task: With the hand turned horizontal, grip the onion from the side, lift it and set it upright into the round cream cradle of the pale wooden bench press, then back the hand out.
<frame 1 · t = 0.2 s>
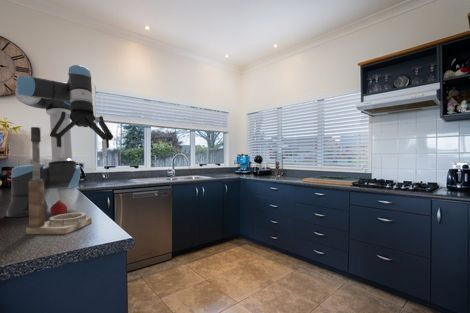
hand: (85, 156, 89), 27 cm above the counter, tool tilted 15°, fingers open, 13 cm apart
press: (61, 227, 90), on the counter
onion: (59, 218, 104), on the counter
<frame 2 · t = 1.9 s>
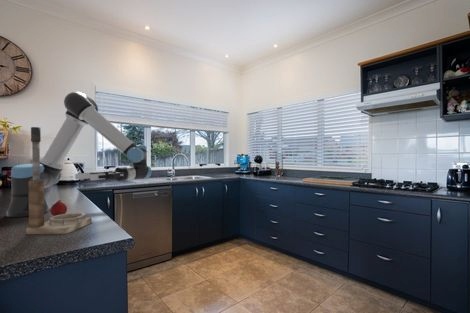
hand: (82, 177, 112), 17 cm above the counter, tool horizontal, fingers open, 13 cm apart
nothing on the counter moved.
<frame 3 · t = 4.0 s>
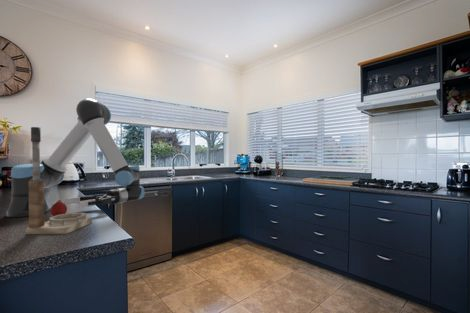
hand: (71, 203, 108), 6 cm above the counter, tool horizontal, fingers open, 13 cm apart
nothing on the counter moved.
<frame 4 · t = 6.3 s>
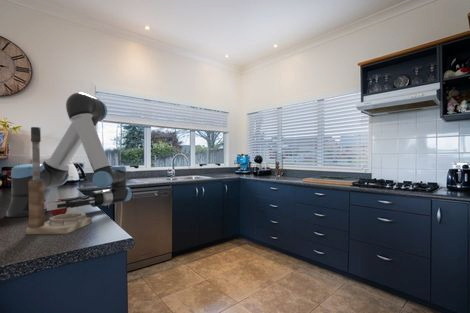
hand: (44, 206, 100), 6 cm above the counter, tool horizontal, fingers closed on onion, 5 cm apart
onion: (58, 218, 104), on the counter, touching gripper
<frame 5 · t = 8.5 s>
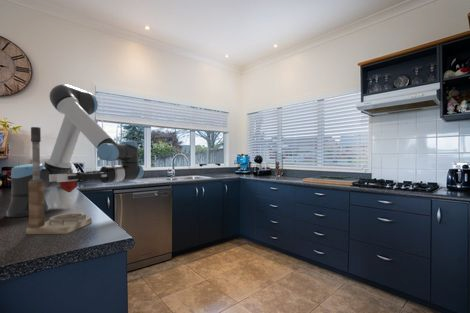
hand: (53, 178, 91), 18 cm above the counter, tool horizontal, fingers closed on onion, 5 cm apart
onion: (69, 192, 96), point 12 cm above the counter, touching gripper
when the fingers open (9 cm above the counter, at t = 10.8 s): onion drops 1 cm, resting on press.
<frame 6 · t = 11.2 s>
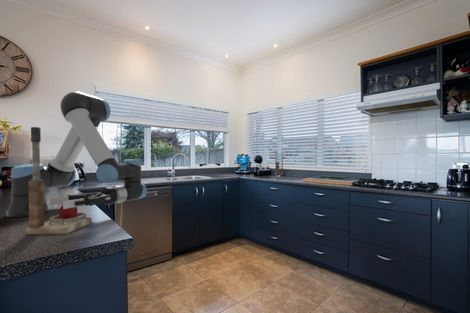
hand: (55, 203, 88), 9 cm above the counter, tool horizontal, fingers open, 11 cm apart
onion: (68, 221, 91), point 2 cm above the counter, touching press
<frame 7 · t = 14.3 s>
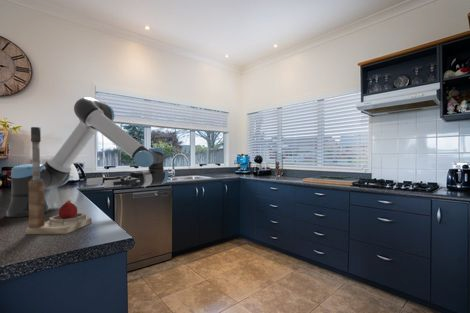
hand: (95, 183, 99), 16 cm above the counter, tool horizontal, fingers open, 13 cm apart
nothing on the counter moved.
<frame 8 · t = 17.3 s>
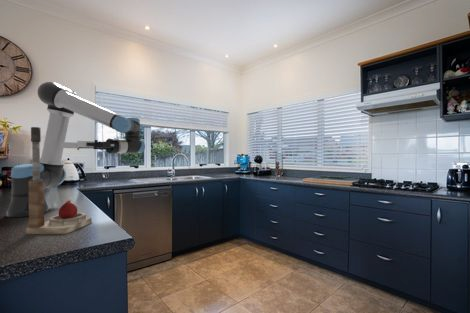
hand: (69, 144, 105), 32 cm above the counter, tool horizontal, fingers open, 13 cm apart
nothing on the counter moved.
at the end: onion 0.0 cm from the target spot on the press, point 1.8 cm above the press's base; onion tilted 0°; the gripper is holding nothing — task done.
